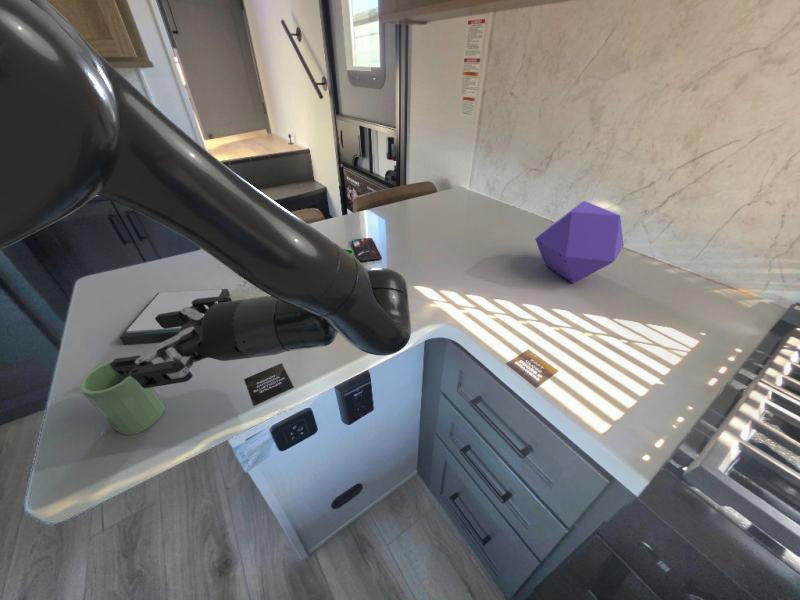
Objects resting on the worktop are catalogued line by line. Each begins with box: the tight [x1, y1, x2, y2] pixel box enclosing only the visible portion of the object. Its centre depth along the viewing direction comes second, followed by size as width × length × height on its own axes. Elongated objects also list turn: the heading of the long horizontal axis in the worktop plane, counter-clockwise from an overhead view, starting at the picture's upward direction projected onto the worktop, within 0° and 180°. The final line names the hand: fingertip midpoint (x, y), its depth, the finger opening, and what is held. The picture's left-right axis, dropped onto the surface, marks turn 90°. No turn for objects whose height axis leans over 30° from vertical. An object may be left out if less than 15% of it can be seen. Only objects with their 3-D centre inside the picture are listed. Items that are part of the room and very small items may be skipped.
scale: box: [119, 288, 231, 346], centre depth 71 cm, size 16×16×3 cm
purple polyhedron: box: [535, 200, 625, 285], centre depth 87 cm, size 22×20×20 cm
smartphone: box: [351, 237, 383, 263], centre depth 101 cm, size 7×1×15 cm
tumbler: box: [78, 359, 166, 436], centre depth 49 cm, size 7×7×10 cm
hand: (139, 342), depth 42 cm, fingers open, 8 cm apart
